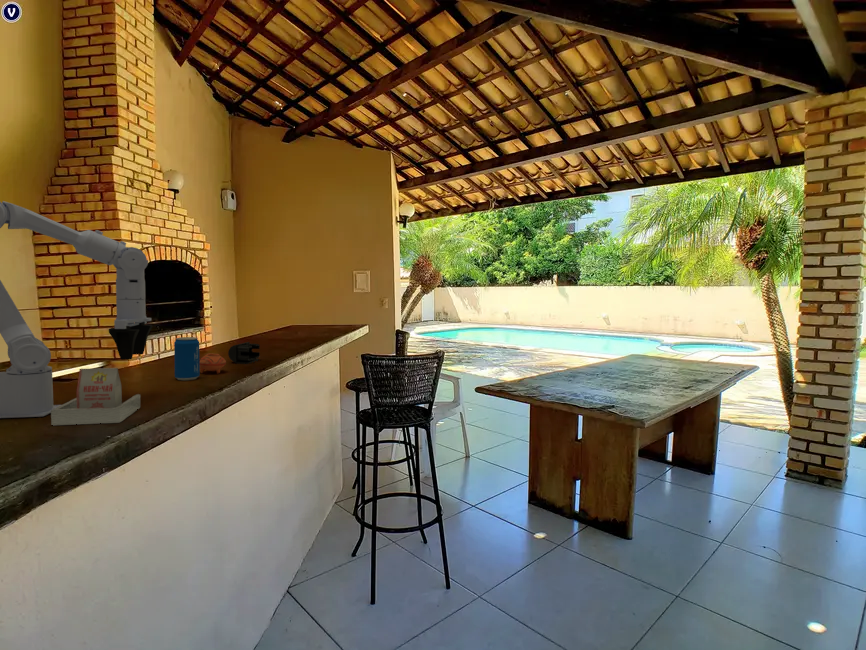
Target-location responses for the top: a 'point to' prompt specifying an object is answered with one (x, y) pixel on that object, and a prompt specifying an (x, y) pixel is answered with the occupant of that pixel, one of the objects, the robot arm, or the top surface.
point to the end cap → (244, 353)
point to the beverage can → (186, 358)
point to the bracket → (93, 413)
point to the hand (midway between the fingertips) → (132, 356)
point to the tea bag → (99, 388)
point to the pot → (212, 362)
